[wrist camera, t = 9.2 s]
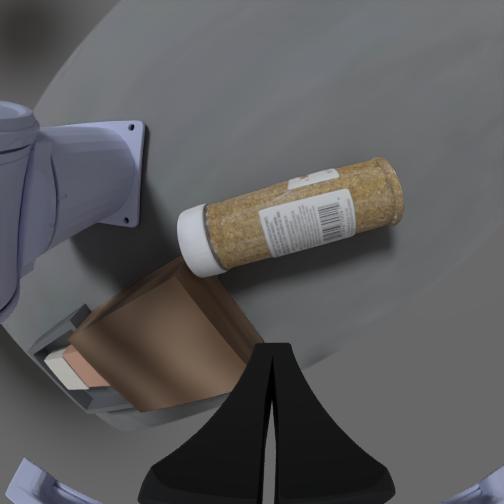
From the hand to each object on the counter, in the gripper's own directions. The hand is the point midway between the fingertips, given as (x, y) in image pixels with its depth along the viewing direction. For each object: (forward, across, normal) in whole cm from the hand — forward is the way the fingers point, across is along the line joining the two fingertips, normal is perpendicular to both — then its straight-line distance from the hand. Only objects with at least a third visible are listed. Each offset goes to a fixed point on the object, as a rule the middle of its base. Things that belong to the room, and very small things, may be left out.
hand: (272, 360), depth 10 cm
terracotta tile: (+10, +19, +11) cm, 24 cm away
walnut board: (+10, +9, +6) cm, 15 cm away
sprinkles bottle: (+8, -8, -6) cm, 13 cm away
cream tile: (+7, +24, +13) cm, 28 cm away
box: (+10, +22, +13) cm, 27 cm away
